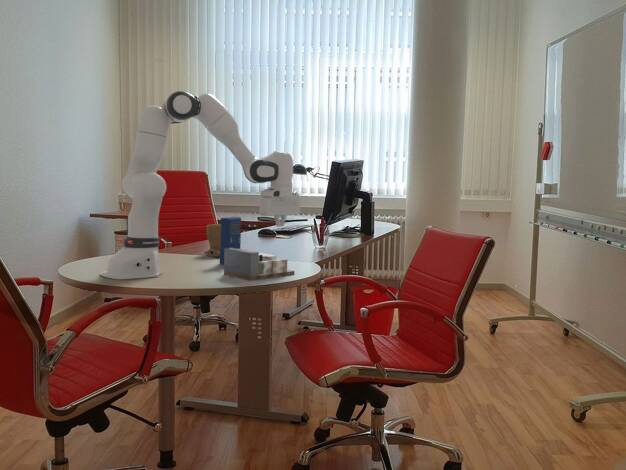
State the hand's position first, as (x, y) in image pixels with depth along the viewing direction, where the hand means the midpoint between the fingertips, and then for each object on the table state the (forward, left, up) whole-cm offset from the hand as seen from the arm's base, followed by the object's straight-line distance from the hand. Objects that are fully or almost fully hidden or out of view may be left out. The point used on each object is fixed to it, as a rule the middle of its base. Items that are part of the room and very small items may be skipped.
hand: (279, 226), depth 262 cm
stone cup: (+9, +49, -19) cm, 54 cm away
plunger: (-9, -1, -17) cm, 19 cm away
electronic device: (-2, +27, -19) cm, 33 cm away
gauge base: (-11, -1, -19) cm, 22 cm away
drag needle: (-17, -7, -12) cm, 22 cm away
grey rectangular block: (-21, -1, -17) cm, 27 cm away
